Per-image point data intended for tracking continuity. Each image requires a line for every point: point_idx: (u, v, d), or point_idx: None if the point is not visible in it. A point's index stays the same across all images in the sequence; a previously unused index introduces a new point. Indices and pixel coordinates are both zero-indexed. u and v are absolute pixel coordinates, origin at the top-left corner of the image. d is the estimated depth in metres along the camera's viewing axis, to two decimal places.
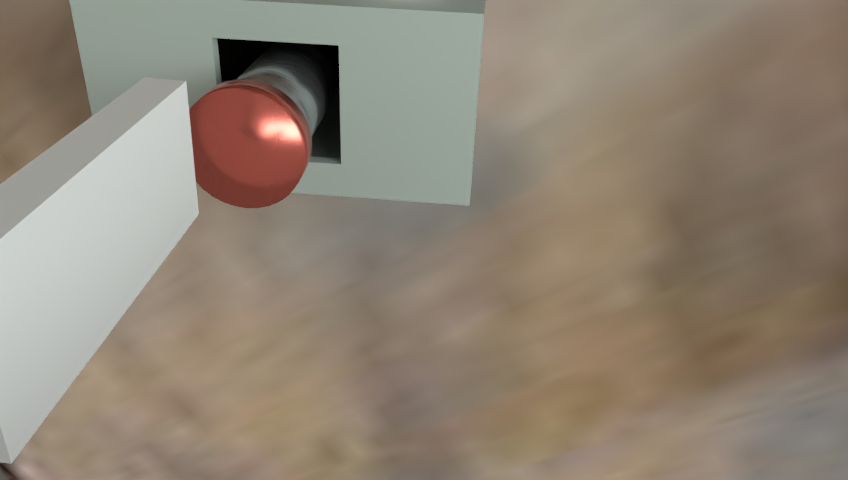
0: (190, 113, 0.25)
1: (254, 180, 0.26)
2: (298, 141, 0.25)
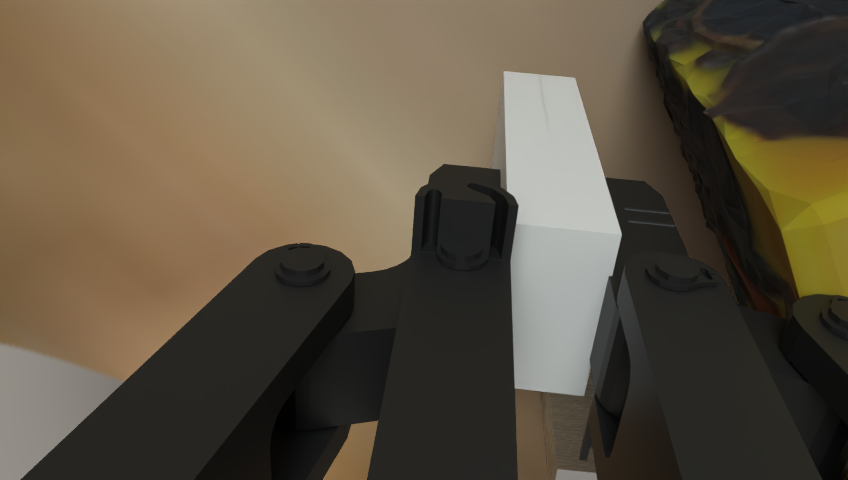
0: None
1: None
2: None
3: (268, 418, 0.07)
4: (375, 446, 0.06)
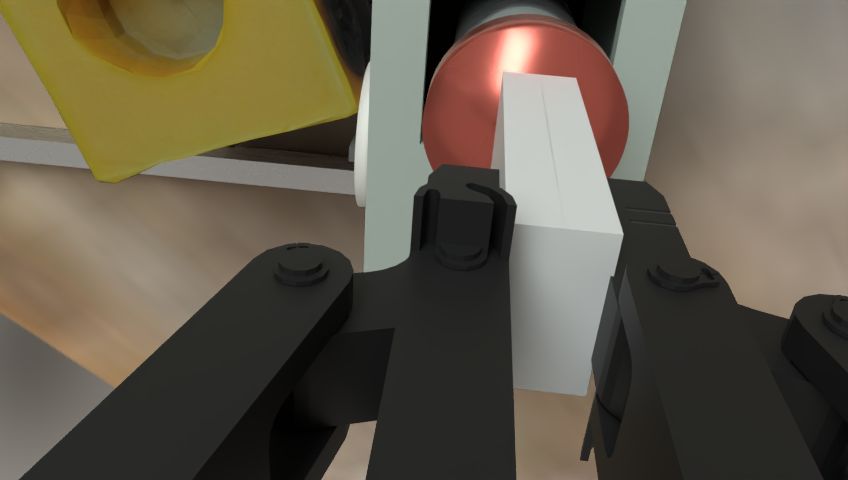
0: None
1: None
2: (512, 35, 0.15)
3: (266, 418, 0.07)
4: (373, 446, 0.06)
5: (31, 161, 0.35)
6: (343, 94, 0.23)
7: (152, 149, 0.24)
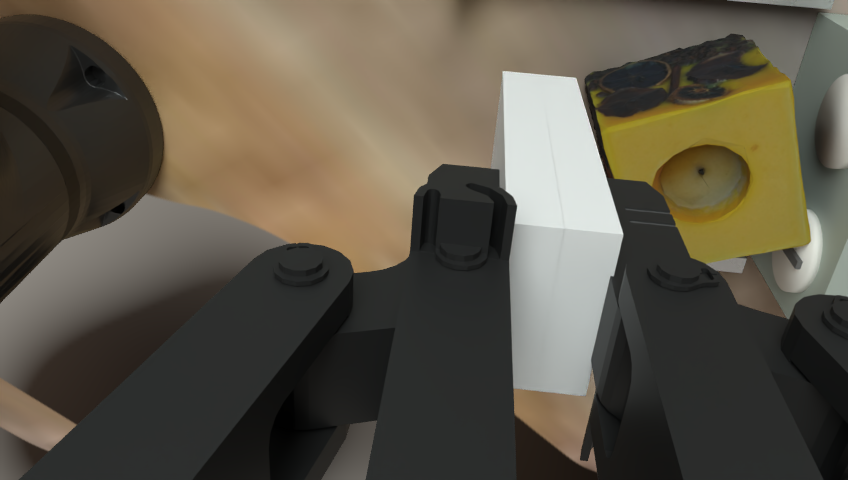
0: None
1: None
2: None
3: (266, 417, 0.07)
4: (374, 446, 0.06)
5: None
6: (805, 234, 0.41)
7: None
